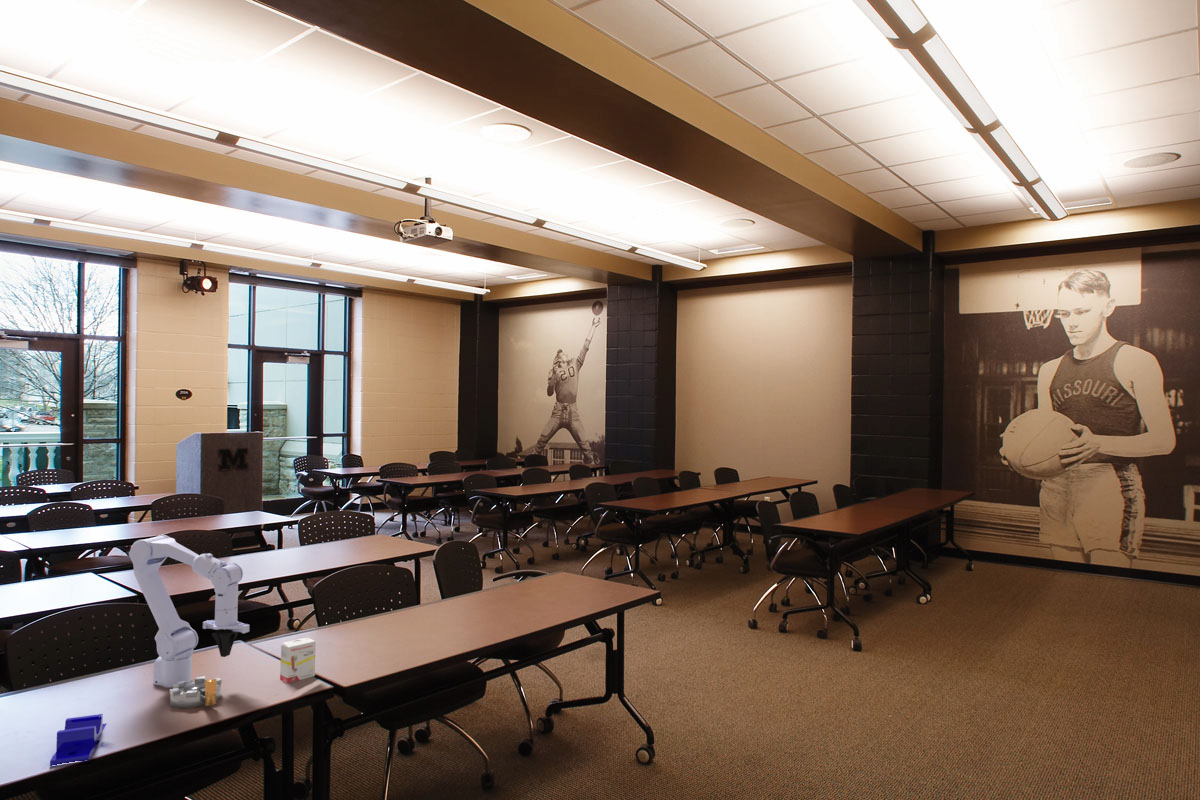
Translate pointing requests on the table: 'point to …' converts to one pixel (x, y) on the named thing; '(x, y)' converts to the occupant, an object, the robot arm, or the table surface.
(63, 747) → the mounting bracket
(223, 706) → the table surface
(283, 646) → the ink box
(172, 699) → the grey toy battleship
